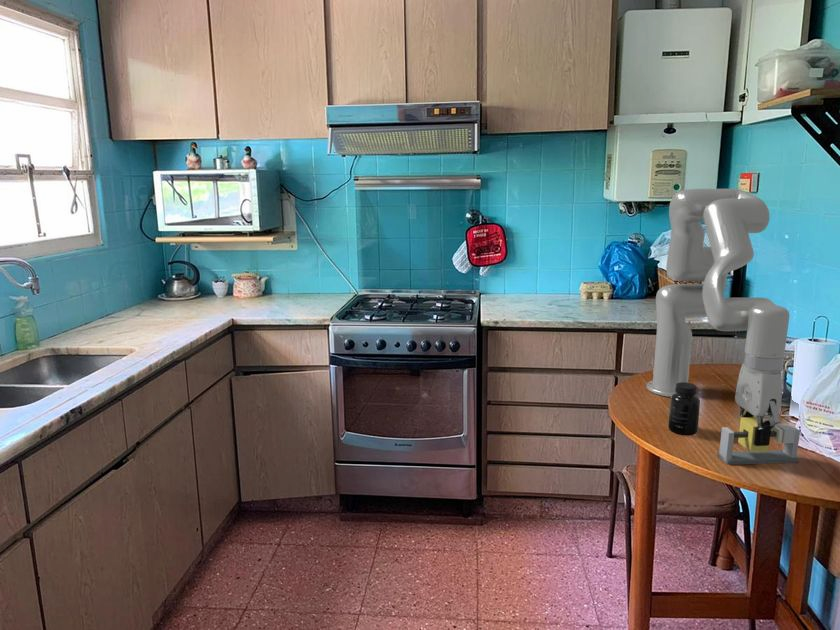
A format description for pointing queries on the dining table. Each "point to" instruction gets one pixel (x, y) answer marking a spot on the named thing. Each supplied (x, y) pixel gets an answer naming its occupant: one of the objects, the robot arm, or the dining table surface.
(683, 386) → the supplement bottle
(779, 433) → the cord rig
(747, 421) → the olive yellow cube
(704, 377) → the dining table surface
